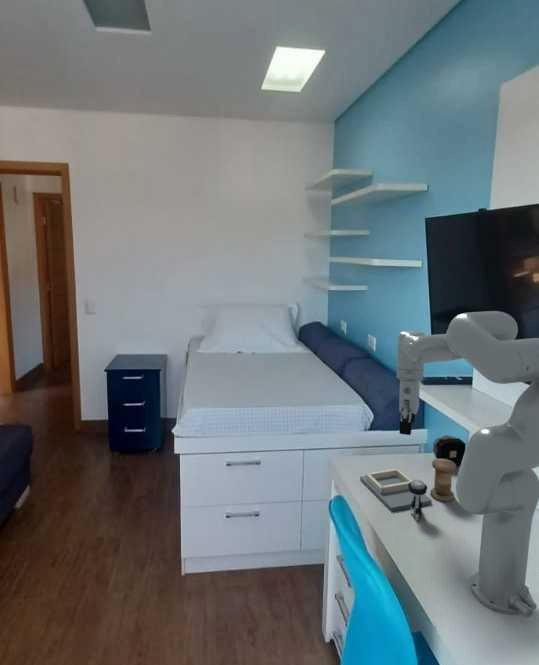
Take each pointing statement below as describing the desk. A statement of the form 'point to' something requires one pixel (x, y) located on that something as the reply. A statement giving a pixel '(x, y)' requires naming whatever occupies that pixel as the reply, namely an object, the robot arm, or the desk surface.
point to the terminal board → (392, 489)
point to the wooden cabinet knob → (443, 480)
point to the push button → (417, 496)
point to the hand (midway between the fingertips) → (407, 427)
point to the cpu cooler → (449, 449)
